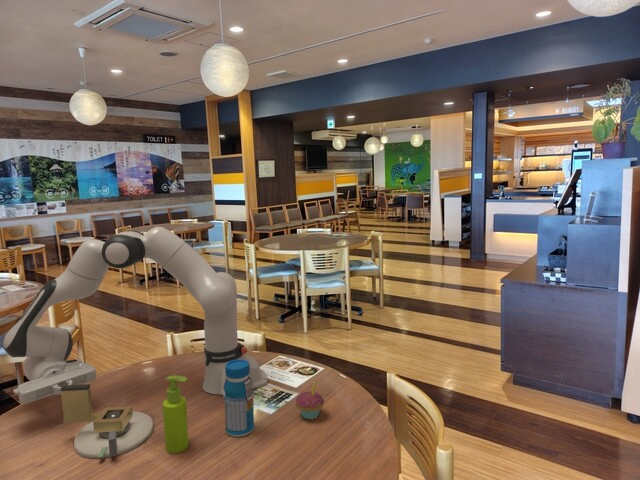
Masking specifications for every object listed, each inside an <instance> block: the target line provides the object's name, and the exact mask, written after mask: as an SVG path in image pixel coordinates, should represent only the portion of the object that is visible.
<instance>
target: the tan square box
mask: <svg viewBox="0 0 640 480" xmlns="http://www.w3.org/2000/svg"><path fill="white" fill-rule="evenodd" d="M120 415H121V414H120V411H112V412H109V413H108V414H107V415H106V419H116V418H119V417H120ZM129 429H130V421H129V423H128V424H127V426H126V427H125V429H124V430H123V431H119V432H116V438H117V437H120V436H122V435H124V434H126V433H127V432H128V431H129ZM99 436H100V437H101V438H103V439H109V432H99Z"/></svg>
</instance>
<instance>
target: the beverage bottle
mask: <svg viewBox="0 0 640 480" xmlns="http://www.w3.org/2000/svg"><path fill="white" fill-rule="evenodd" d="M225 372H226V377H227V379H226V381H225V384H224V391H225V393H224V396H223V404H224V417H225V418H224V419H225V432H226V433H227V434H228V436H231V437H236V438H237V437H243V436H247V435H249V434H250V433H252V432H253V431H254V428H255V413H254V412H255V411H254V407H255V406H254V389H252V388H253V383H252V380H251V379H250V377H249V373H250V365H249V362H248V361H247V360H243V359H236V360H232V361H229V362H228V363H227V364H226V366H225Z"/></svg>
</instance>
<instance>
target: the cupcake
mask: <svg viewBox="0 0 640 480" xmlns="http://www.w3.org/2000/svg"><path fill="white" fill-rule="evenodd" d="M316 381H317V380H316V379H315V380H314V381H313V384H312V390H311V391H305V392H302V393H300V394H299V395H298V396H297V397H296V399H295V400H296V401H295V407H296V408H297V409H298V410H300V412H301V417H302V418H304V419H305V418H307V419H306V420H308V419H312V418H315V417H317V416H318V417H319V415H320V414H319V413H320V410H321V409H322V408H323V406H324V404H325V398H324V397H323V396H322V395H321V393H319V392H316V391H315V390H316V385H317V384H316V383H317V382H316ZM318 417H317V418H318ZM315 419H316V418H315ZM312 420H313V419H312Z"/></svg>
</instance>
